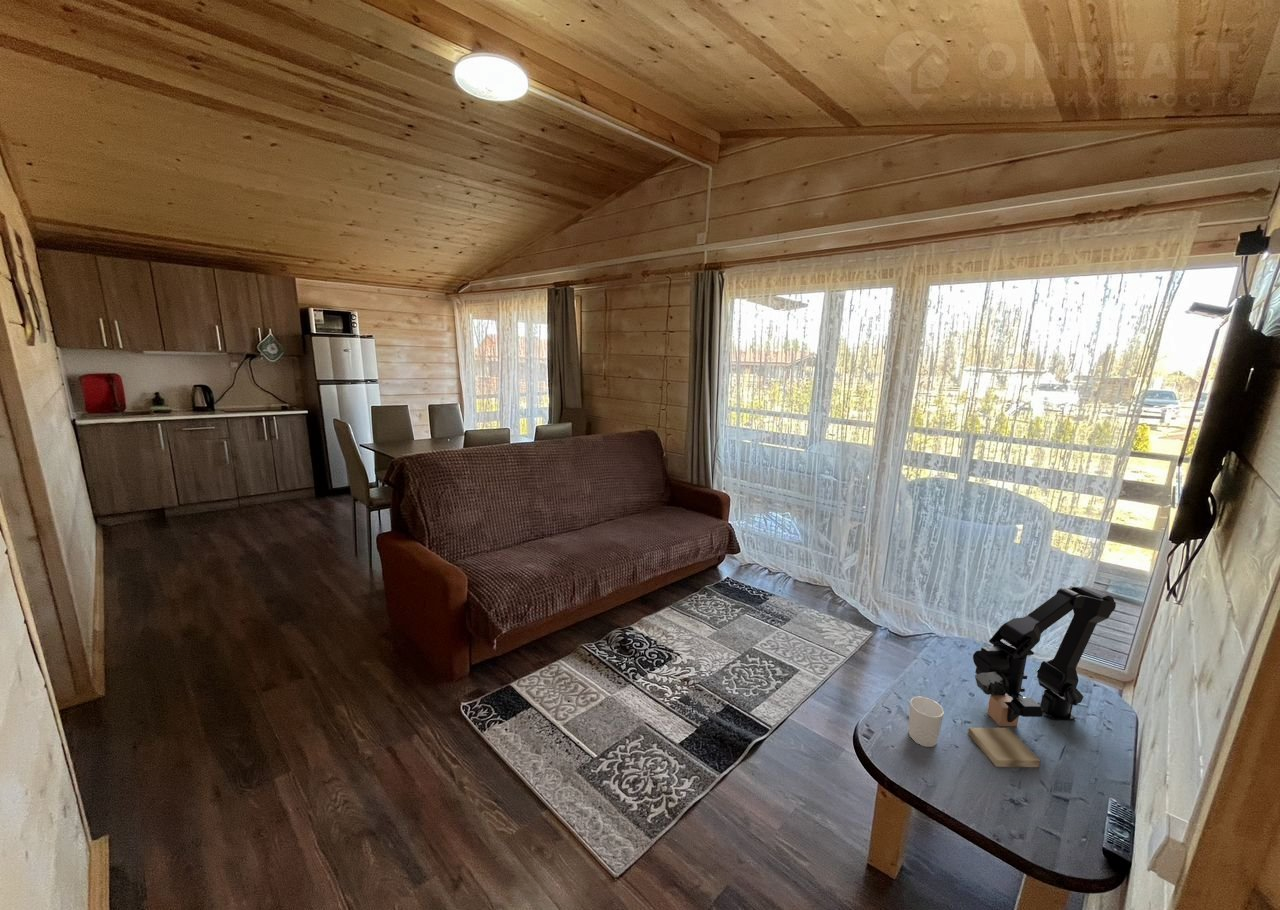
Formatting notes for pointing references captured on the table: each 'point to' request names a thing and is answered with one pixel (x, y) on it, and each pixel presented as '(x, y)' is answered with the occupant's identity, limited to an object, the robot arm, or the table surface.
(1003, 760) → the base slab
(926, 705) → the white cup
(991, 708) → the block
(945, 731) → the table surface
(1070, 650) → the robot arm
